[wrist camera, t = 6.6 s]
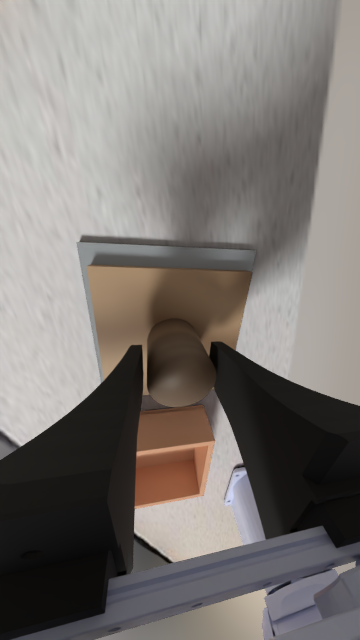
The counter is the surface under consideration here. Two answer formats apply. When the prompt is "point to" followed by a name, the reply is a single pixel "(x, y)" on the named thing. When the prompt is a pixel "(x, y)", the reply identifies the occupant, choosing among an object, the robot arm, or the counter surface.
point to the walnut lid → (167, 323)
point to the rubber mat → (156, 264)
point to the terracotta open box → (172, 455)
